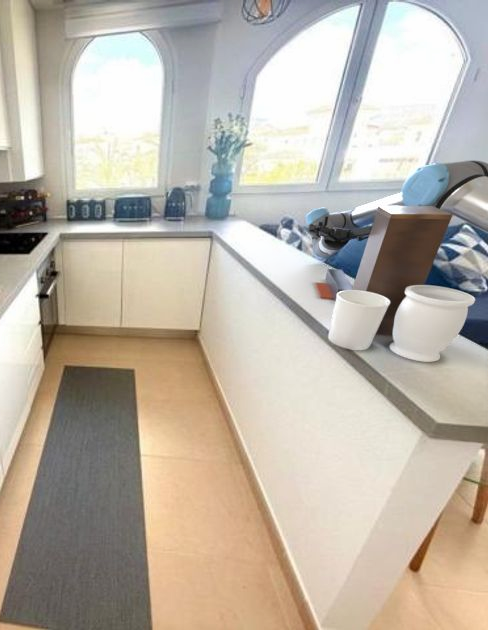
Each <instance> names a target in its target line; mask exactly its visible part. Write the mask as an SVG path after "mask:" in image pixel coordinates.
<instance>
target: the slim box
mask: <svg viewBox="0 0 488 630" xmlns="http://www.w3.org/2000/svg"><path fill="white" fill-rule="evenodd" d="M324 281H325V282H326V283H327V285H328V287H329V289H330V291H331V294H332V296H333V298H334V299H333V300H334V302H335V301H336V295H337V293H338V292H340V291H344V290H352V289H353V285H352V283H351V282H350V280H349V279H348V277H347V276H346V274H345V272H344V270H343V269H340V268H339V269H338V268H328V269H327V271H326V274H325V278H324Z"/></svg>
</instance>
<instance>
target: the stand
mask: <svg viewBox="0 0 488 630" xmlns="http://www.w3.org/2000/svg"><path fill="white" fill-rule="evenodd" d="M452 216H453V214H450V213H448V212H445V211H443V210H441V209H438V208H436V207H433V206H378V209H377V212H376V215H375V219H374V222H373V223H372V224H373V225H372V224H371V226H372V228H371V231H370V234H369V238H367V241H366V244H365V247H364V250H363V255H362V257H361V259H360V260H361V261H360V264H359V267H358V270H357V273H356V276H355V279H354V282H353V285H352V287H353V289H352V290H360V291H367V292H372V293H376V294H379V295H382V296H384V297H386V298H388V299H389V300H390V305H389V306H388V308H387V311H386V313H385V315H384V317H383V319H382V321H381V324H380V326H379V328H378V330H377V332H376V334H375V335H381V336H390V337H393V327H394V319H395V315H396V312H397V309H398V307H399V305H400V304H401V302H402V301H403V299H404V298H405V297H406V295H405V289H406V287H409V286H413V285H426V282H427V279H428V276H429V274H430V272H431V269H432V267H433V265H434V262H435V259H436V257H437V255H438V252H439V250H440V247H441V245H442V242H443V240H444V237H445V235H446V232H447V230H448V228H449V225H450V222H451V220H452V218H453V217H452Z"/></svg>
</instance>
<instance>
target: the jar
mask: <svg viewBox="0 0 488 630" xmlns="http://www.w3.org/2000/svg"><path fill="white" fill-rule="evenodd" d="M405 295H406V297H405V298H404V299H403V301H402V302H401V304H400V305H399V307H398V309H397V312H396V315H395V319H394V327H393V336H392V340H393V342H391V343H390V344H389V349H390V351H392V352H393V353H394V354H396V355H398V356H399V357H400V356H401V357H402V358H405V359H409V360H411V361H417V362H422V363H423V362H424V363H431V362H433V363H434V362H437V361H439V360H440V358H441V354H440V353H441V352H443V351H444V350H446V349H447V348H448V347H449V346H450V345H451V344H452V342H453V341H454V339H455V338H456V337H457V336H458V334H459V333H460V332H461V330H462V329H463V327H464V325H465V322H466V320H467V317H468V312H469V307H471V306H473V305H474V304H475V302H476V298H475V297H474V296H473V295H472V294H470V293H467V292H464V291H462V290H458V289H456V288H455V289H454V288H450V287H446V286H440V285H439V286H438V285H430V284H424V285H413V286H409V287H406V289H405Z"/></svg>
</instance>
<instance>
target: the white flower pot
mask: <svg viewBox="0 0 488 630" xmlns="http://www.w3.org/2000/svg"><path fill="white" fill-rule="evenodd" d="M389 305H390V300H389V299H388V298H386V297H384V296H382V295H379V294H376V293H372V292H367V291H360V290H344V291H340V292H338V293H337V295H336V301H335V300H334V306H333V307H334V308H333V311H332V316H331V320H330V325H329V330H328V333H327V339H328V341H329V342H330V343H332V344H333V345H335V346H337V347H339V348H341V349H342V348H343V349H345V350H346V349H347V350H351V351H366V350H368V349H369V348H370V347H371V345H372V343H373V341H374V340H375V339H374V338H375V336H376V335H377V334H376V332H377V330H378V328H379V326H380V324H381V321H382V319H383V317H384V315H385V313H386V311H387V308H388V306H389Z"/></svg>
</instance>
